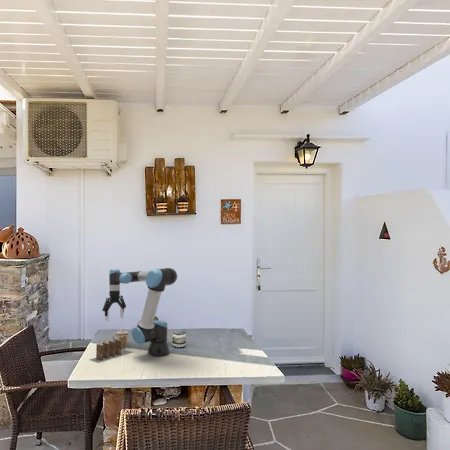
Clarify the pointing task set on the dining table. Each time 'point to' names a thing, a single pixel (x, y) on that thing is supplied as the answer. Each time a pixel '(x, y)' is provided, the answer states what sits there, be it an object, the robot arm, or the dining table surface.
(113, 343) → the tile
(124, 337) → the lead tile
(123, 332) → the teacup with lid
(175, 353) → the dining table surface
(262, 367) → the dining table surface
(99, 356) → the tile
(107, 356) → the tile
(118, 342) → the tile
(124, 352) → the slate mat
